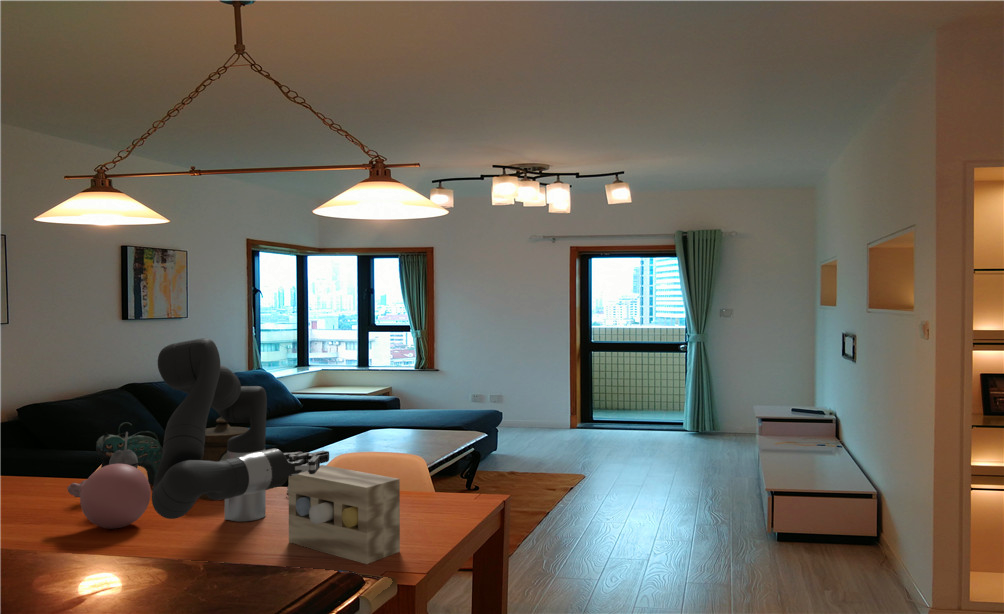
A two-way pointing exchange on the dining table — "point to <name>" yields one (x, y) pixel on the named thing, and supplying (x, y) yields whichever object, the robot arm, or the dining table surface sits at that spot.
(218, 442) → the wooden container
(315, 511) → the white button
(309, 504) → the slate button
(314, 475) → the block
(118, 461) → the beverage cup
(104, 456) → the ceramic cat
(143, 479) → the balloon
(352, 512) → the ochre button
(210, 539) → the dining table surface
